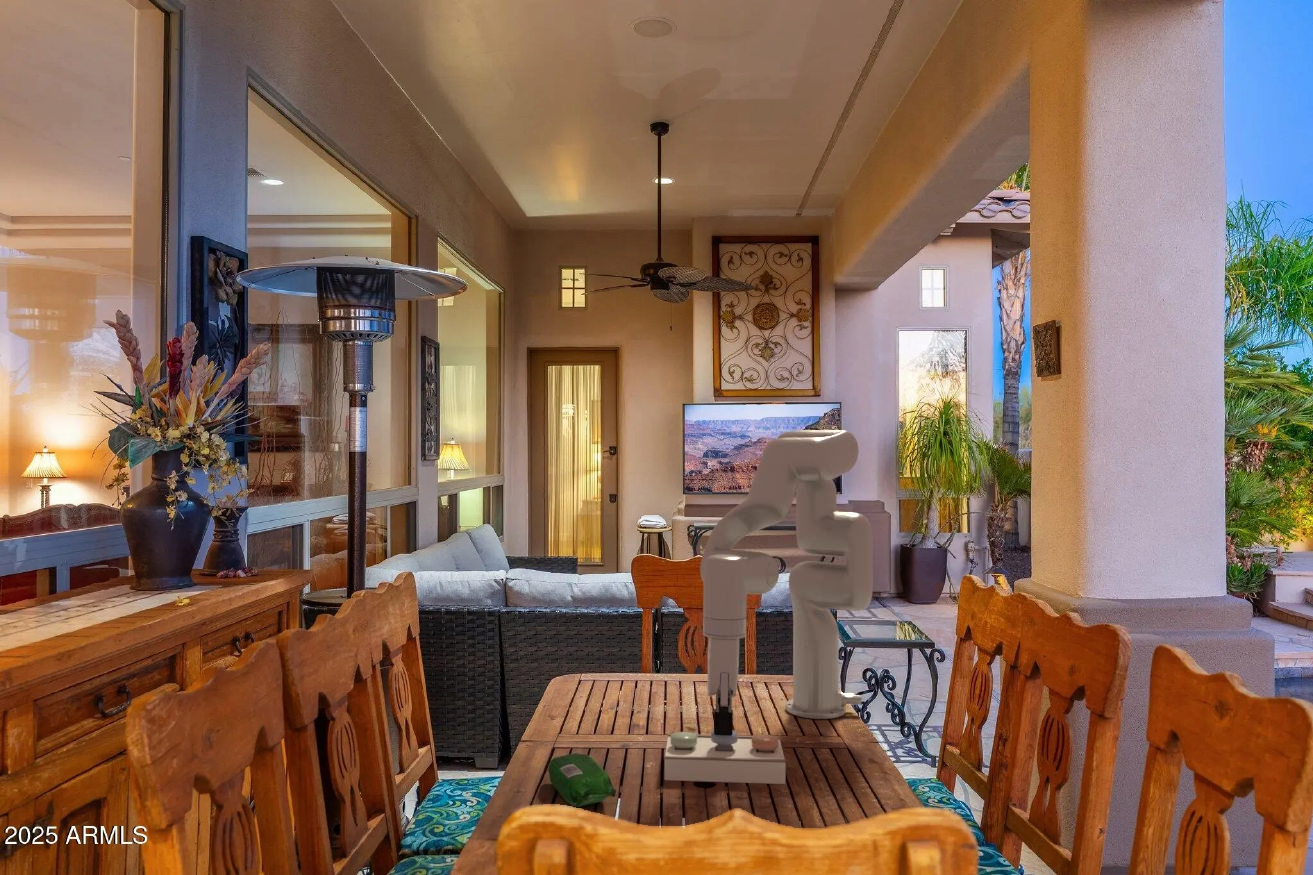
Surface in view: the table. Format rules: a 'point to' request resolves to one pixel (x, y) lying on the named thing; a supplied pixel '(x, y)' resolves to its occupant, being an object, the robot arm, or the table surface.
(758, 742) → the terracotta button
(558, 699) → the table surface
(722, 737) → the slate button
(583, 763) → the snack package
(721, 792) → the table surface
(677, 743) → the sage button
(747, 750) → the console
